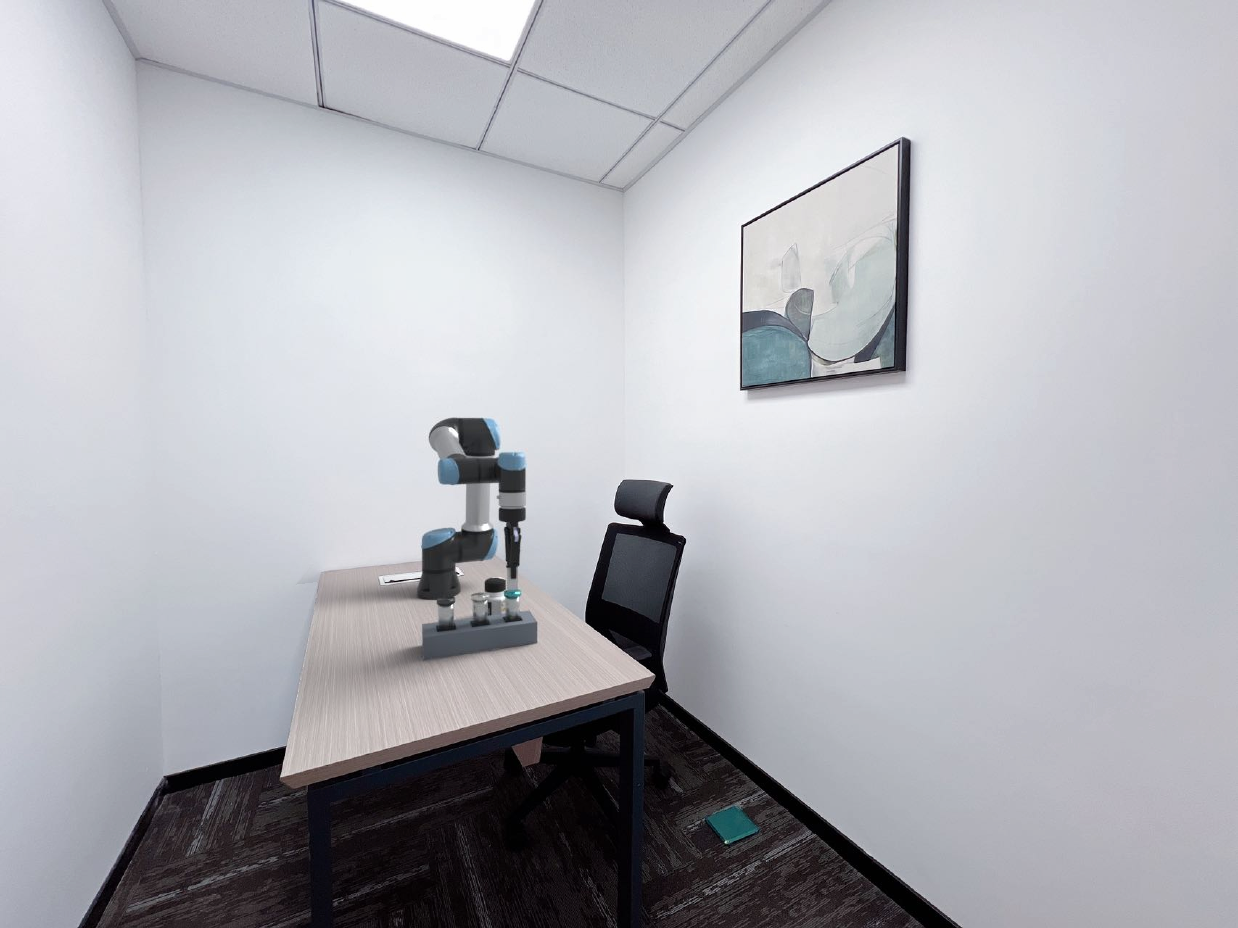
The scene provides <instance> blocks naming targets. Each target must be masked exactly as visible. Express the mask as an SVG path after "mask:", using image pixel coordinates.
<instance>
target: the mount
mask: <svg viewBox="0 0 1238 928" xmlns="http://www.w3.org/2000/svg"><path fill="white" fill-rule="evenodd" d="M421 634H422V636H421V638H422V642H421V643H422V644H421V645H422V646H421V647H422V656H423V657H422V658H423V661H427V660H435V659H440V658H447V657H453V656H458V655H460V656H461V655H466V654H474V653H478V652H479V653H480V652H486V651H492V650H498V649H499V650H500V649H507V648H512V647H518V646H527V645H532V644H537V643H538V621H537V619H536V618H535V617H534V615H533V614H532V611H530V610H523V611H520V621H516V622H509V623H507V622H506V621H505V614H497V615H490V616H488V625H486V626H479V627H474V626H473V617H466V618H460V619H454V629H453V630H449V631H442V632H440V631H439V630H438V621H435V622H428V623H422V624H421Z"/></svg>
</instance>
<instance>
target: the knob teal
mask: <svg viewBox="0 0 1238 928" xmlns="http://www.w3.org/2000/svg"><path fill="white" fill-rule="evenodd" d="M521 596H522V590H521V589H519V588H518V589H515V590H508V589H506V591H504V597H505V621H506V622H507V623H509V622H516V621H520V612H521V611H520V609H521V607H520V606H521V601H520V597H521Z"/></svg>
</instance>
